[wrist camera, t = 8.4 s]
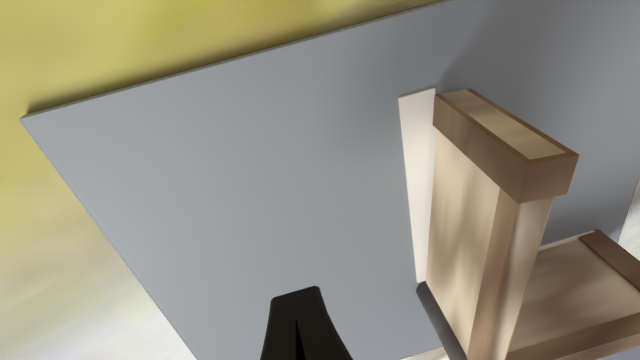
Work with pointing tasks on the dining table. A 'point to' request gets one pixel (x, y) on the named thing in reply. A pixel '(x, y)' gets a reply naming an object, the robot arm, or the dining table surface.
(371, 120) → the card
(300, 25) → the dining table surface
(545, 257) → the fixed fence section
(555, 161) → the post
